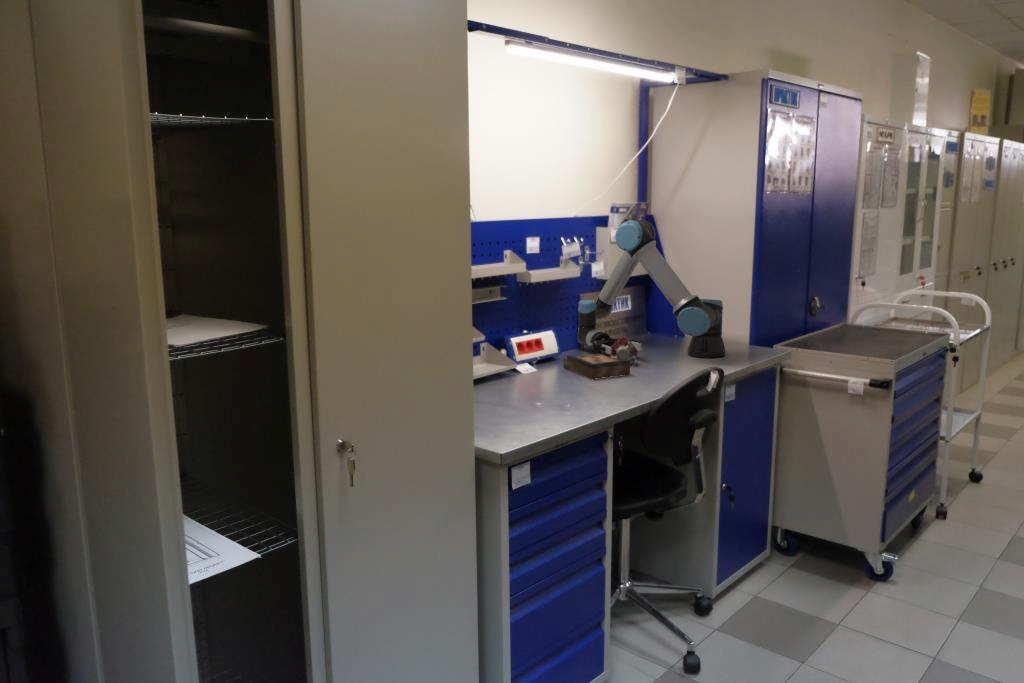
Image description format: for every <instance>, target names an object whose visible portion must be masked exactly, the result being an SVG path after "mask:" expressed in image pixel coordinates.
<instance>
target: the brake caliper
mask: <svg viewBox="0 0 1024 683" xmlns="http://www.w3.org/2000/svg"><path fill="white" fill-rule="evenodd" d="M623 339H624V340H623ZM629 340H630V339H629V338H627V337H626V336H625V335H622V336H621V337H620V339H619V340H618V341H617V342H616V343H615V344H614V345H612V346H611V347H612V354H608V357H611V358H613V359H616V360H619V361H620V360H630V366H632V365H631V364H633V365H634V363H635V362H636V360H637V358H638V350H637V349H636V348H635V347H634V346H633V344H632V343H631V342H630V341H629ZM619 342H621V344H619ZM626 342H628V344H626ZM616 345H617V346H616ZM625 346H626V347H625Z"/></svg>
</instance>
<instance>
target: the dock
mask: <svg viewBox="0 0 1024 683" xmlns="http://www.w3.org/2000/svg"><path fill="white" fill-rule="evenodd" d="M565 368H566V369H565ZM563 369H565V370H567V369H568V370H567V371H570V370H571V372H572V371H573V372H572V373H575V374H577V373H578V375H579V374H581V375H580V376H582V375H583V376H582V377H584V376H586V377H585V378H587V377H588V378H587V379H589V378H591V379H594V380H596V379H595V378H602V377H610V376H617V377H621V376H620V375H625V376H630V375H631V365H630V360H620V361H619V360H616V359H613V358H611V357H609V355H605V354H603V353H602V354H601V353H594V354H586V355H577V356H574V355H572V354H568V355H566V357H563ZM629 374H630V375H629ZM610 378H611V377H610ZM591 379H590V380H591ZM602 379H603V378H602Z"/></svg>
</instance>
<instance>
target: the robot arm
mask: <svg viewBox="0 0 1024 683" xmlns="http://www.w3.org/2000/svg"><path fill="white" fill-rule="evenodd" d="M656 236H657V234H656V229H655V227H654V225H653V224H652V223H651V222H649V221H647V220H644V219H638V220H627V221H624V222H622V223H621V224H620V225H619V226H618V227H617V229H616V231H615V234H614V240H615V244H616V245H617V247H618V248H619V249H620V250H622V251H623V252H622V255H621V257H620V259H619V260H618V261H617V264H616V265H615V267H614V268H613V270H612V272H611V273H612V274H610V275H611V276H610V275H609V277H610V278H609V277H608V279H606V282H605V284H604V285H603V287H602V289H601V291H600V292H599V293H598V296H597V297H598V300H597V302H595V301H596V300H594V299H581V300H579V302H578V306H577V307H578V308H577V312H578V315H577V316H578V322H577V323H578V327H577V328H578V332H577V340H578V342H579V343H578V342H577V343H578V344H580V345H582V346H585V347H589V348H591V349H592V352H597V354H601V353H605V354H608V355H609V354H612V347H611V346H612V345H614V344H615V343H616V342H617V341H618V340H619V339H620V338H621V337H620V338H619V337H617V338H613V337H610V335H609V334H608V333H607V332H603V331H601V330H597V321H598V320H600V319H605V318H607V317H608V316H609V315H611V313H612V312H613V305H614V304H615V302H616V301H617V299H618V297H619V295H620V293H621V292H622V291H623V289H624V287H625V286H626V285H627V282H629V279H630V278H631V276H632V274H633V273H634V271H635V269H636V268H637V266H638V265H639V263H640V265H641V266H642V267H643V269H644V270H645V271H646V273H647V274H648V275H649V277H650V278H651V279H652V281H653V282H654V283H655V285H656V286H657V287H658V288H659V290H660V291H661V293H662V294H663V296H664V297H665V298H666V300H667V301H668V302H669V304H670V305H671V306H672V307H673V311H672V314H673V315H674V316H675V318H676V320H677V322H676V323H677V326H678V328H679V330H680V331H681V332H682V333H683V334H685V335H686V336H690V337H691V338H690V341H689V345H688V347H687V355H688V356H690V357H693V356H694V358H700V357H703V358H704V359H711V358H710V357H718V358H721V357H720V356H723V357H725V356H726V353H727V350H726V347H725V343H724V341H723V337H722V336H723V335H722V334H723V313H724V312H723V309H724V306H723V305H724V304H723V301H722V300H720V299H709V298H700V297H699V296H698V295H696V294H692V293H691V292H690V291H689V289H688V288H687V287H686V285H685V284H684V282H683V281H682V279H680V278H679V276H678V275H677V274H676V272H675V271H674V269H673V268H672V267H671V266H670V264H669V263H668V261H667V260H666V259H665V258H664V255H662V254H661V252H660V251H659V250H658V248H657V246H656V245H657V240H656ZM583 327H584V328H583ZM623 340H624V339H623ZM628 340H629V341H630V342H631V343H632V344H633V346H634V347H635V348H636V349H637V350H638V351H639V352H642V343H639V342H638V340H637V339H628ZM619 344H621V342H619ZM626 344H628V342H626ZM615 346H617V345H615ZM625 347H626V346H625ZM724 355H725V356H724ZM703 358H702V359H703Z"/></svg>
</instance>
